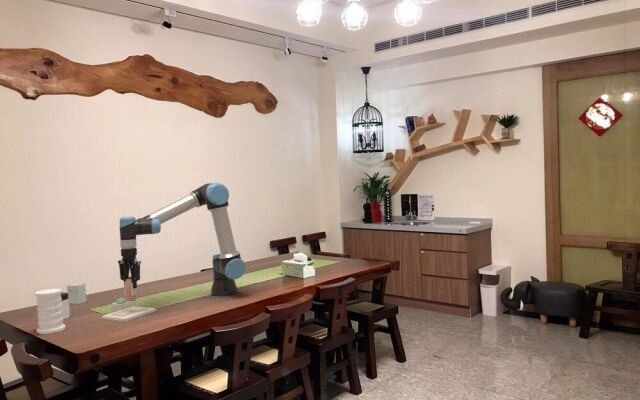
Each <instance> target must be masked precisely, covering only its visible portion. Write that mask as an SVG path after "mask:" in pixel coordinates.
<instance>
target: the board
mask: <svg viewBox="0 0 640 400" xmlns="http://www.w3.org/2000/svg"><path fill="white" fill-rule="evenodd" d="M156 311H157V308H155V307H146V306H145V307H144V306H137V305H135V306H134V305H132V307H129V308H126V309H123V310H120V311H113V312H111V313H108V314H105V315H102V316H101V319H103V320H110V321H118V322H119V321H120V322H128V321H131V320H134V319H136V318H139V317H142V316H145V315H149V314H150V313H151V314H152V313H154V312H156Z"/></svg>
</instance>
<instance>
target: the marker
mask: <svg viewBox="0 0 640 400" xmlns="http://www.w3.org/2000/svg"><path fill="white" fill-rule="evenodd" d="M131 281H132V278H131V276H129V277H128V279H126V292H127V295H126V301H128V302H131V301H132V302H136V294H135V295H131Z"/></svg>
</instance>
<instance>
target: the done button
mask: <svg viewBox="0 0 640 400" xmlns="http://www.w3.org/2000/svg"><path fill="white" fill-rule="evenodd" d="M126 301H127V297H119V298H117V299H116V302H117V304H123V303H126Z"/></svg>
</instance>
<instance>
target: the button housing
mask: <svg viewBox="0 0 640 400" xmlns="http://www.w3.org/2000/svg"><path fill="white" fill-rule="evenodd" d="M132 306H133V301H131V302H128V301H127V300H126V303H123V304H117V301H115V302H112V303H110V309H111V311H113V312H116V311H120V310H123V309H126V308H129V307H132Z"/></svg>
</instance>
